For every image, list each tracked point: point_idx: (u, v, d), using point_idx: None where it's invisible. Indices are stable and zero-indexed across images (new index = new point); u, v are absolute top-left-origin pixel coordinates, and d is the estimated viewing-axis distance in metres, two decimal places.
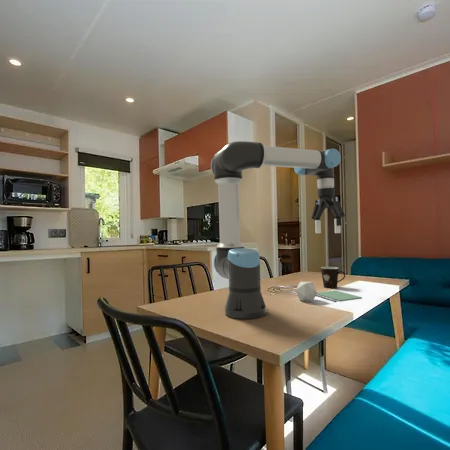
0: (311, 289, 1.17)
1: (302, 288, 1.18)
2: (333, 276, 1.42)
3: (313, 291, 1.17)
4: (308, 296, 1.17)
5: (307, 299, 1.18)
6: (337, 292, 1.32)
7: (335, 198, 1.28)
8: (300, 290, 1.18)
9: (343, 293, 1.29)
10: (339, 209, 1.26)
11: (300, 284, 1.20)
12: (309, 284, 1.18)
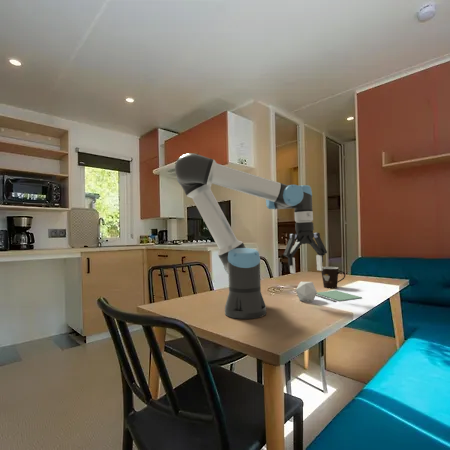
0: (311, 289, 1.17)
1: (302, 288, 1.18)
2: (333, 276, 1.42)
3: (313, 291, 1.17)
4: (308, 296, 1.17)
5: (307, 299, 1.18)
6: (337, 292, 1.32)
7: (290, 235, 1.19)
8: (300, 290, 1.18)
9: (343, 293, 1.29)
10: (286, 248, 1.18)
11: (300, 284, 1.20)
12: (309, 284, 1.18)
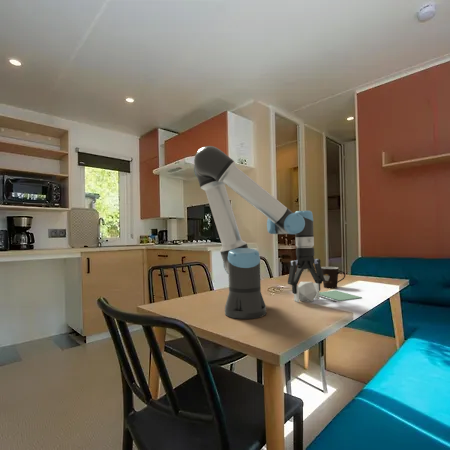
0: (311, 289, 1.17)
1: (302, 288, 1.18)
2: (333, 276, 1.42)
3: (313, 291, 1.17)
4: (308, 296, 1.17)
5: (307, 299, 1.18)
6: (337, 292, 1.32)
7: (291, 262, 1.19)
8: (300, 290, 1.18)
9: (343, 293, 1.29)
10: (289, 276, 1.18)
11: (300, 284, 1.20)
12: (309, 284, 1.18)
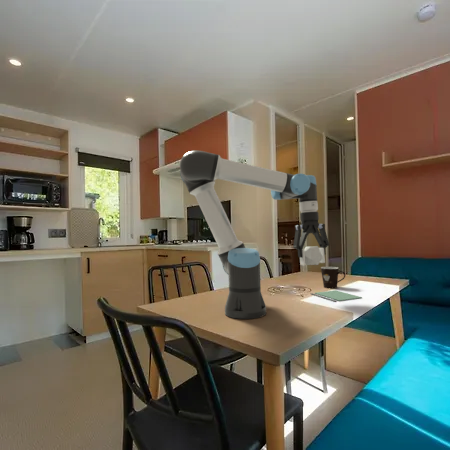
0: (316, 252, 1.18)
1: (308, 251, 1.19)
2: (333, 276, 1.42)
3: (319, 254, 1.18)
4: (314, 259, 1.18)
5: (313, 262, 1.19)
6: (337, 292, 1.32)
7: (295, 227, 1.20)
8: (305, 254, 1.20)
9: (343, 293, 1.29)
10: (295, 240, 1.20)
11: (305, 248, 1.22)
12: (314, 248, 1.20)
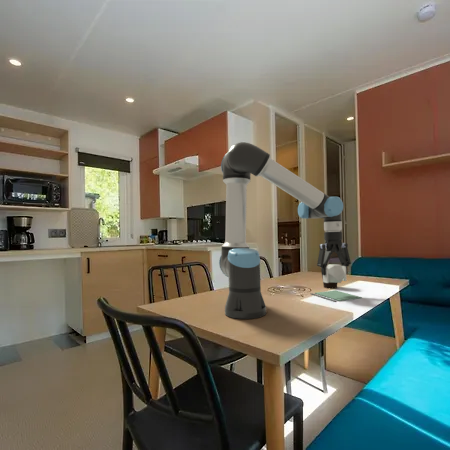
0: (339, 270, 1.23)
1: (331, 269, 1.24)
2: None
3: (342, 272, 1.23)
4: (337, 277, 1.23)
5: (336, 280, 1.24)
6: (337, 292, 1.32)
7: (320, 246, 1.25)
8: (329, 272, 1.25)
9: (343, 293, 1.29)
10: (319, 258, 1.25)
11: (329, 266, 1.27)
12: (338, 266, 1.25)
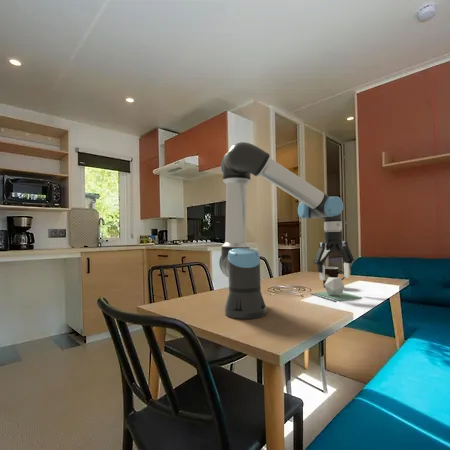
0: (339, 284, 1.23)
1: (331, 283, 1.24)
2: (333, 276, 1.42)
3: (341, 286, 1.23)
4: (337, 291, 1.23)
5: (336, 294, 1.24)
6: None
7: (320, 244, 1.25)
8: (328, 285, 1.24)
9: (343, 293, 1.29)
10: (317, 256, 1.24)
11: (328, 279, 1.26)
12: (337, 279, 1.25)
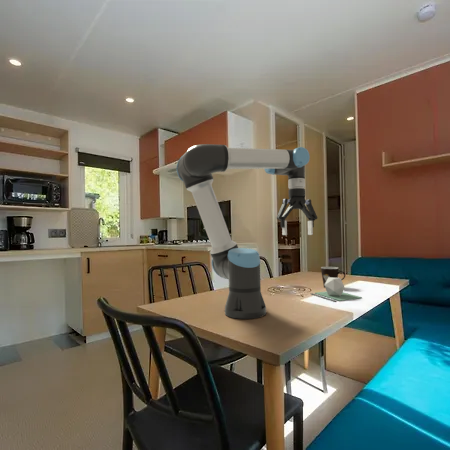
0: (339, 284, 1.23)
1: (331, 283, 1.24)
2: (333, 276, 1.42)
3: (341, 286, 1.23)
4: (337, 291, 1.23)
5: (336, 294, 1.24)
6: None
7: (283, 200, 1.29)
8: (328, 285, 1.24)
9: (343, 293, 1.29)
10: (279, 211, 1.28)
11: (328, 280, 1.26)
12: (337, 280, 1.24)
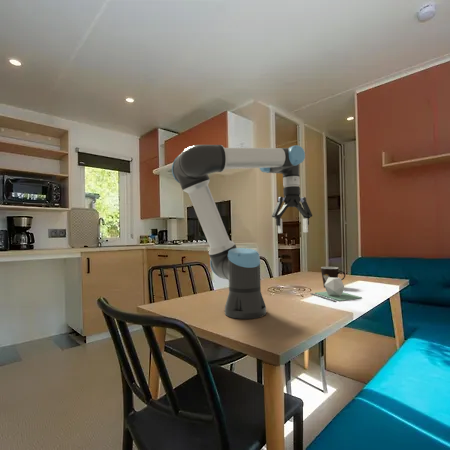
0: (339, 284, 1.23)
1: (331, 283, 1.24)
2: (333, 276, 1.42)
3: (341, 286, 1.23)
4: (337, 291, 1.23)
5: (336, 294, 1.24)
6: None
7: (278, 198, 1.29)
8: (328, 285, 1.24)
9: (343, 293, 1.29)
10: (275, 210, 1.28)
11: (328, 280, 1.26)
12: (337, 280, 1.24)
